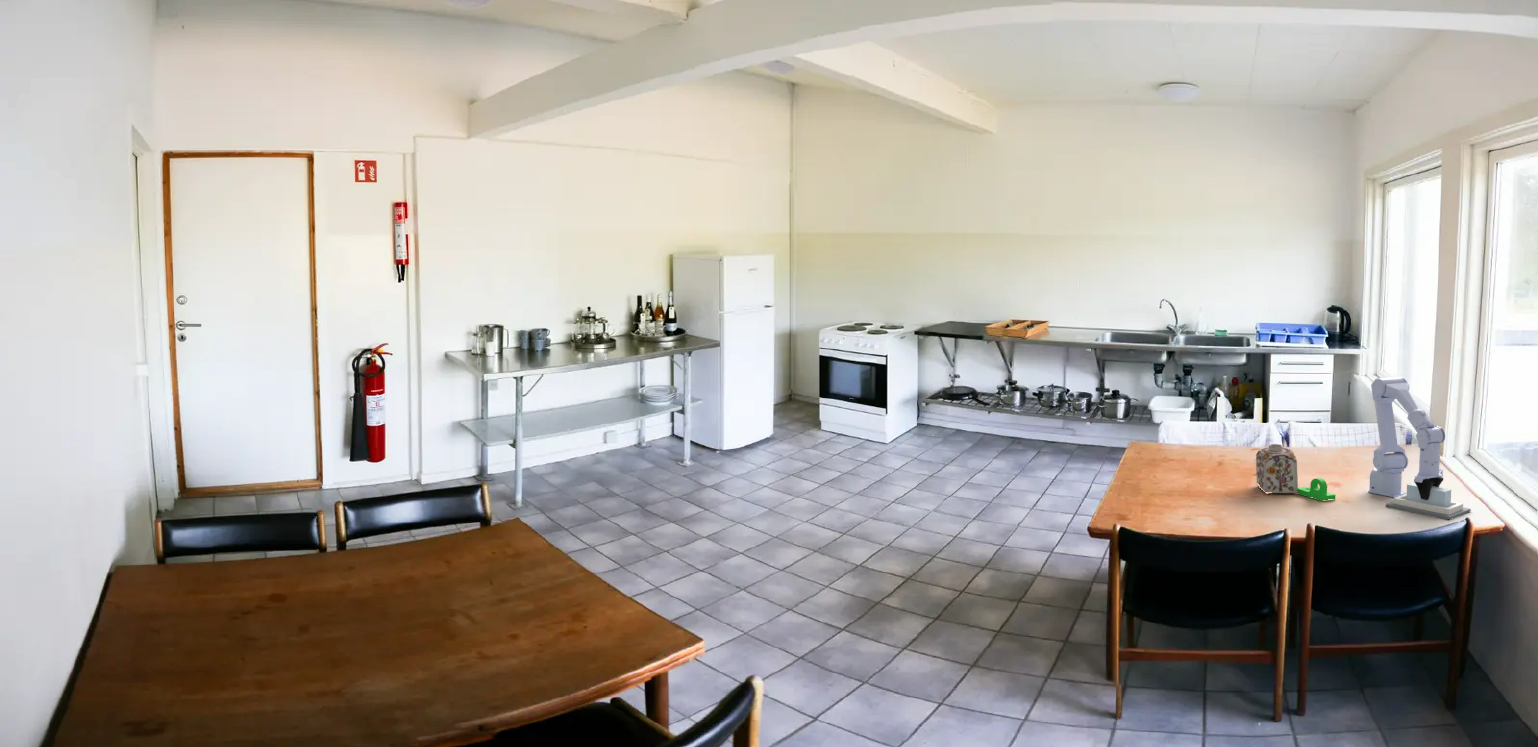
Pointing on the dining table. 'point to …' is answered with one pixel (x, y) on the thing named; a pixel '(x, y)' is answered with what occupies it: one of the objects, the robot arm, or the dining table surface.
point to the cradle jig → (1428, 508)
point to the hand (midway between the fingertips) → (1427, 498)
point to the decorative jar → (1277, 469)
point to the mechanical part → (1317, 490)
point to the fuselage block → (1436, 495)
